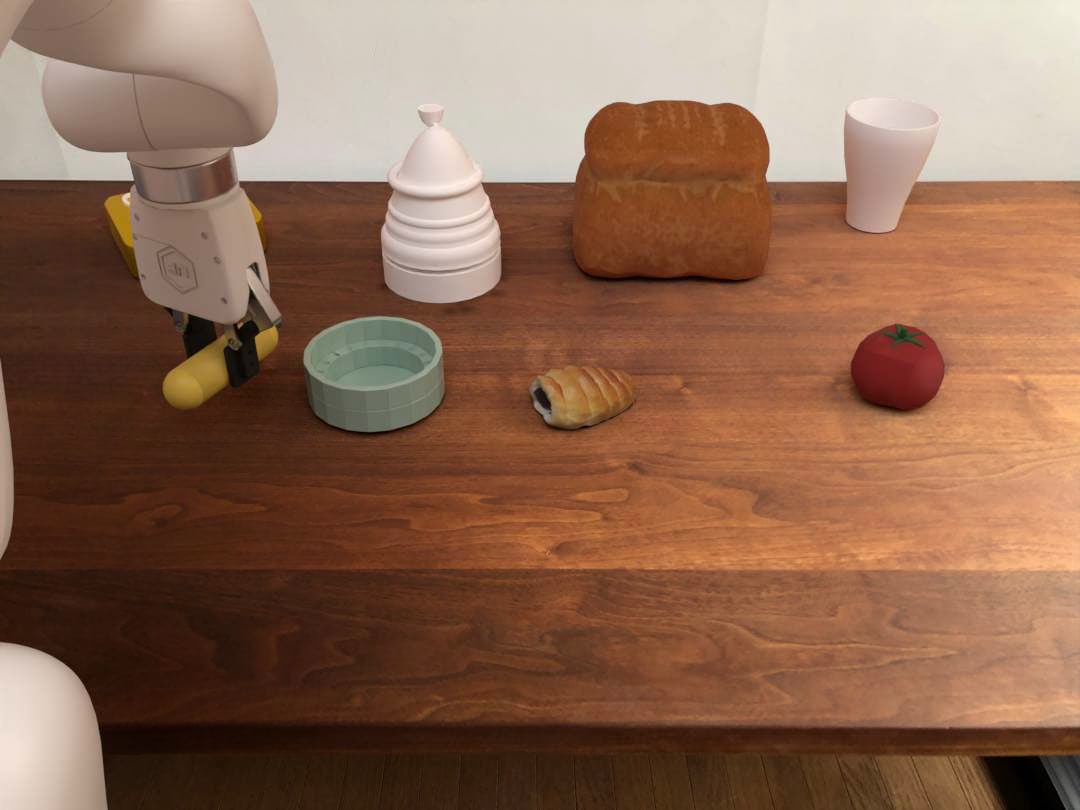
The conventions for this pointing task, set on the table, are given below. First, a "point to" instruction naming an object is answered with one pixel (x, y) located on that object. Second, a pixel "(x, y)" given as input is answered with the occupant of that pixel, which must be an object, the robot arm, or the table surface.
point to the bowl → (374, 373)
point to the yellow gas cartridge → (208, 371)
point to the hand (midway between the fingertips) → (225, 371)
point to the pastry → (581, 395)
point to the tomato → (898, 367)
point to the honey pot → (439, 221)
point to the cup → (884, 158)
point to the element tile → (122, 233)
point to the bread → (673, 192)
